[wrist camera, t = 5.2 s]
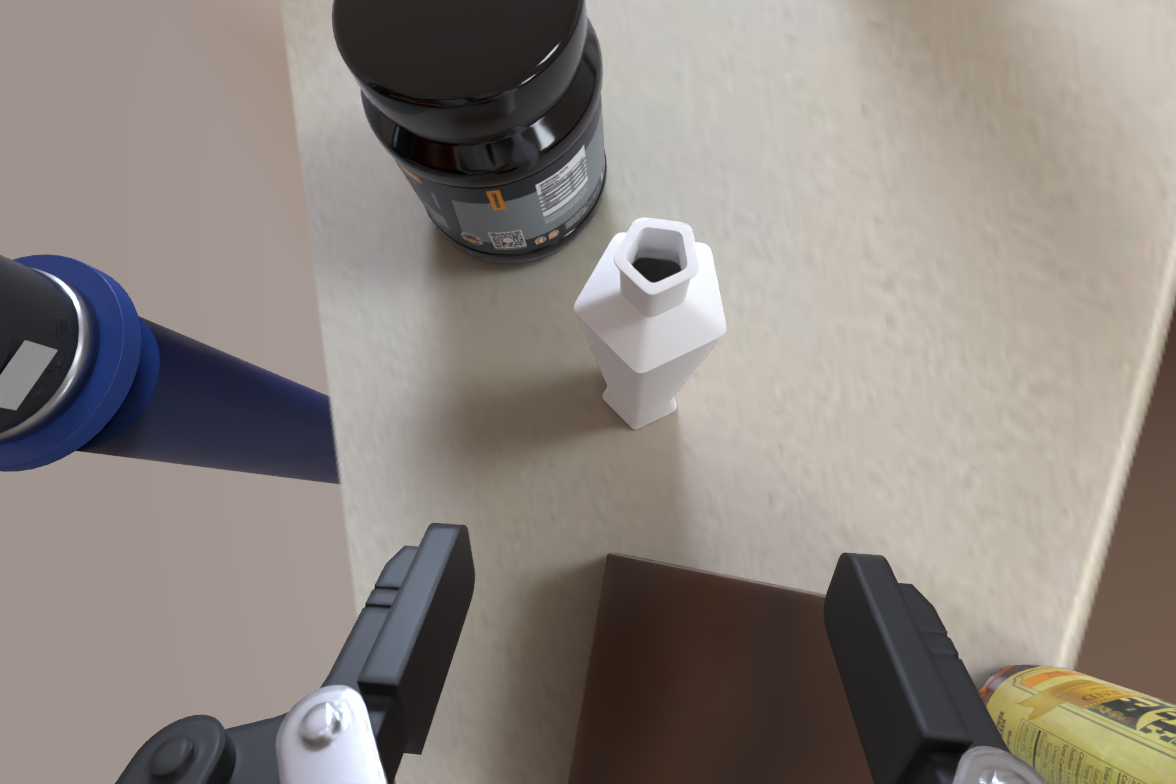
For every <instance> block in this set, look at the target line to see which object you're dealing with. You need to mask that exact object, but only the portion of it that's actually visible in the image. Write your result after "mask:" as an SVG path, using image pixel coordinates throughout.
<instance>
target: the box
mask: <svg viewBox="0 0 1176 784" xmlns="http://www.w3.org/2000/svg"><path fill="white" fill-rule="evenodd" d="M825 597H826V595H825V594H820V593H815V592H810V591H805V590H800V589H795V588H790V587H785V586H780V585H775V584H770V583H765V582H760V581H754V580H749V579H744V578H739V577H734V576H729V575H724V574H719V573H714V572H709V571H704V570H699V569H694V568H689V567H684V566H679V565H674V564H669V563H664V562H659V561H654V560H649V559H644V558H638V557H633V556H628V555H623V554H618V553H614V554H611V553H608V554H607V558H606V564H605V570H604V576H603V582H602V587H601V593H600V599H599V605H598V611H597V617H596V622H595V628H594V634H593V640H592V646H591V651H590V657H589V663H588V669H587V675H586V681H585V686H584V692H583V698H582V704H581V710H580V715H579V721H578V727H577V733H576V739H575V744H574V750H573V756H572V762H571V768H570V774H569V779H568V784H874V782H873V779H872V776H871V773H870V769H869V766H868V763H867V760H866V756H865V753H864V750H863V747H862V744H861V740H860V737H859V734H858V731H857V728H856V724H855V721H854V718H853V715H852V712H851V708H850V705H849V702H848V699H847V696H846V692H845V689H844V686H843V683H842V679H841V676H840V673H839V670H838V667H837V663H836V660H835V657H834V654H833V651H832V647H831V644H830V641H829V638H828V635H827V631H826V628H825V622H824V600H825Z"/></svg>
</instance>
